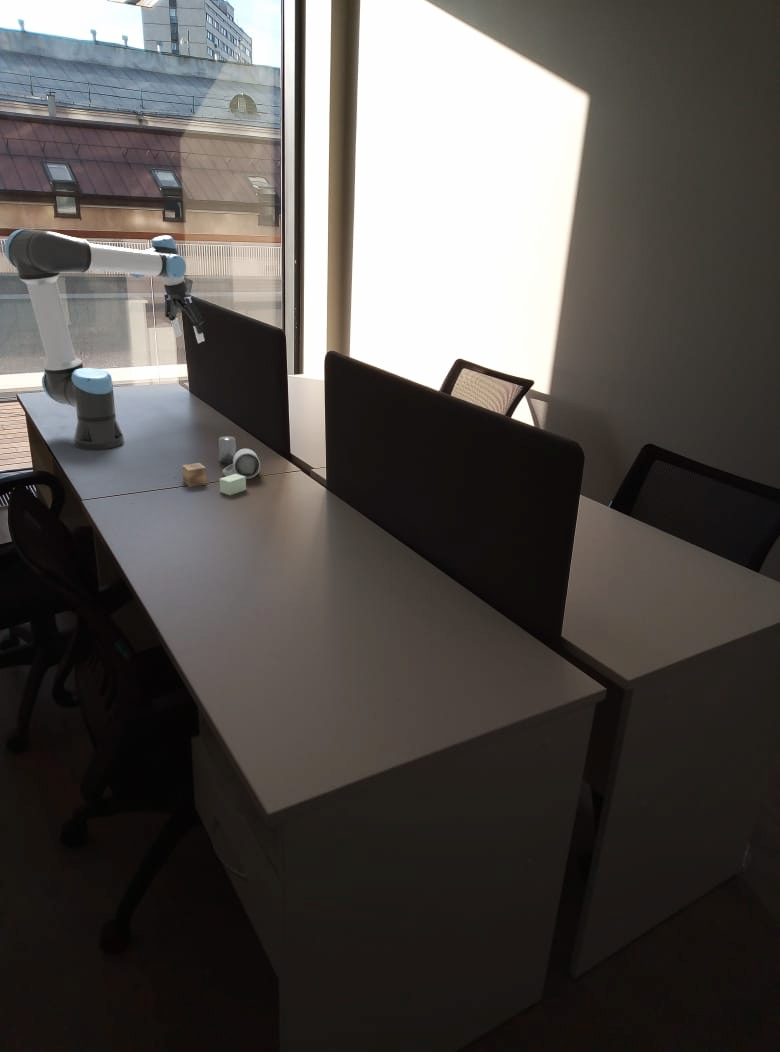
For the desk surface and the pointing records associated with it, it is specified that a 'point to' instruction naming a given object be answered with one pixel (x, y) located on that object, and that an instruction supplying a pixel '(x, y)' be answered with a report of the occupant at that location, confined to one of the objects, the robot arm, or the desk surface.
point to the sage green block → (232, 484)
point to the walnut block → (194, 474)
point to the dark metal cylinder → (227, 449)
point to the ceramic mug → (244, 464)
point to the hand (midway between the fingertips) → (189, 339)
